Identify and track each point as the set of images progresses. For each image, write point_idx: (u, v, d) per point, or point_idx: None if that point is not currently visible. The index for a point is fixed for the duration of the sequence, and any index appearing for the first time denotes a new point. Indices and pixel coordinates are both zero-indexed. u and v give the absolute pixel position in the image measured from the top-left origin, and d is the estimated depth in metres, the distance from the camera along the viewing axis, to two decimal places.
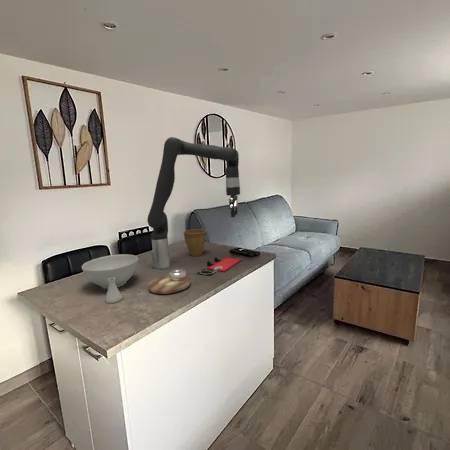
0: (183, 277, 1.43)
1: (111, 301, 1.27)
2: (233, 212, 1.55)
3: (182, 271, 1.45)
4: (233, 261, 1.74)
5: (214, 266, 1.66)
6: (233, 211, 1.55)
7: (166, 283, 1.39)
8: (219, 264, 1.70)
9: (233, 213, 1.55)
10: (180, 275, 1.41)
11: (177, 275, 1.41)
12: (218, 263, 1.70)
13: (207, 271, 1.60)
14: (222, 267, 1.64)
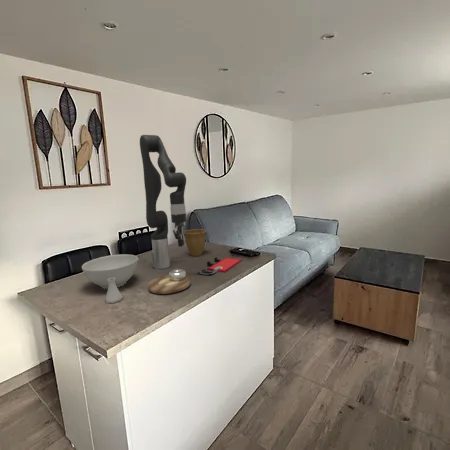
0: (183, 277, 1.43)
1: (111, 301, 1.27)
2: (180, 241, 1.49)
3: (182, 271, 1.45)
4: (233, 261, 1.74)
5: (214, 266, 1.66)
6: (180, 240, 1.49)
7: (166, 283, 1.39)
8: (219, 264, 1.70)
9: (180, 242, 1.49)
10: (180, 275, 1.41)
11: (177, 275, 1.41)
12: (218, 263, 1.70)
13: (207, 271, 1.60)
14: (222, 267, 1.63)
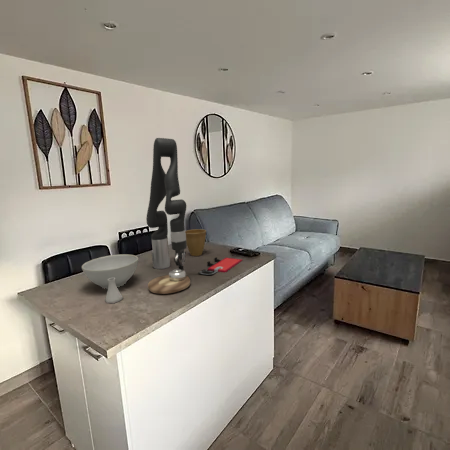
0: (183, 277, 1.43)
1: (111, 301, 1.27)
2: (181, 268, 1.49)
3: (182, 271, 1.45)
4: (233, 261, 1.74)
5: (214, 266, 1.65)
6: (181, 267, 1.48)
7: (166, 283, 1.39)
8: (219, 264, 1.70)
9: None
10: (180, 275, 1.41)
11: (177, 275, 1.41)
12: (218, 263, 1.70)
13: (208, 271, 1.59)
14: (223, 267, 1.63)
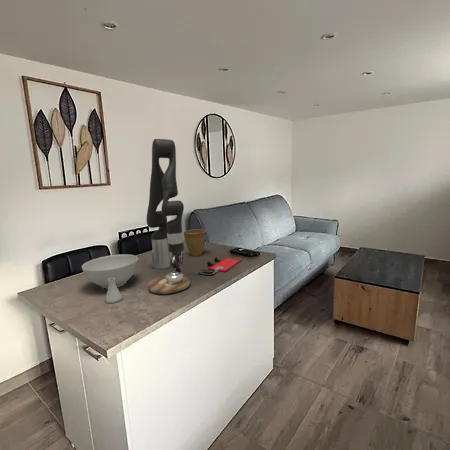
0: (181, 280, 1.39)
1: (111, 301, 1.27)
2: (178, 270, 1.45)
3: (179, 274, 1.41)
4: (233, 261, 1.74)
5: (215, 266, 1.65)
6: (178, 269, 1.45)
7: (166, 283, 1.39)
8: (219, 264, 1.69)
9: (178, 271, 1.45)
10: (178, 278, 1.38)
11: (175, 278, 1.37)
12: (219, 263, 1.70)
13: (208, 271, 1.59)
14: (223, 267, 1.63)
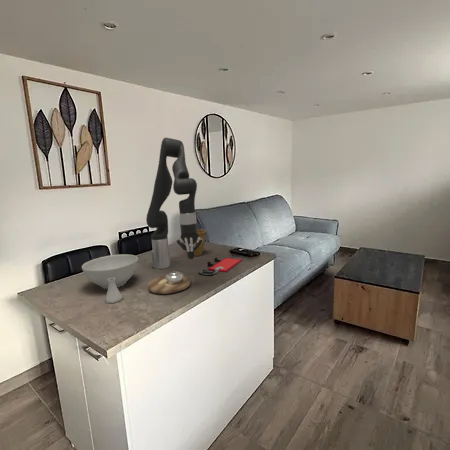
0: (181, 280, 1.39)
1: (111, 301, 1.27)
2: (188, 253, 1.37)
3: (179, 274, 1.41)
4: (233, 261, 1.74)
5: (215, 266, 1.65)
6: None
7: (166, 283, 1.39)
8: (219, 264, 1.69)
9: (188, 254, 1.37)
10: (178, 278, 1.38)
11: (175, 278, 1.37)
12: (219, 264, 1.70)
13: (208, 271, 1.59)
14: (223, 267, 1.63)
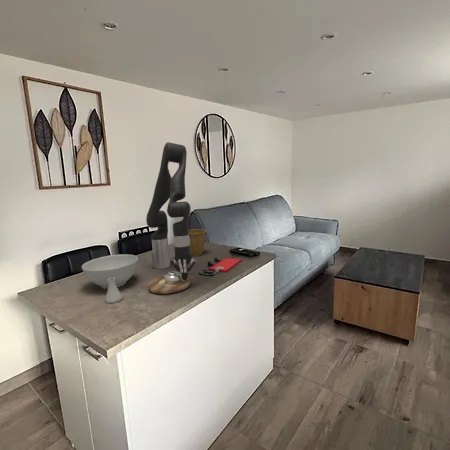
0: (179, 280, 1.39)
1: (111, 301, 1.27)
2: (181, 274, 1.40)
3: (178, 274, 1.41)
4: (233, 261, 1.73)
5: (215, 266, 1.65)
6: (181, 273, 1.40)
7: None
8: (219, 264, 1.69)
9: None
10: (176, 278, 1.38)
11: (173, 278, 1.37)
12: (219, 264, 1.70)
13: (209, 271, 1.59)
14: (223, 267, 1.63)
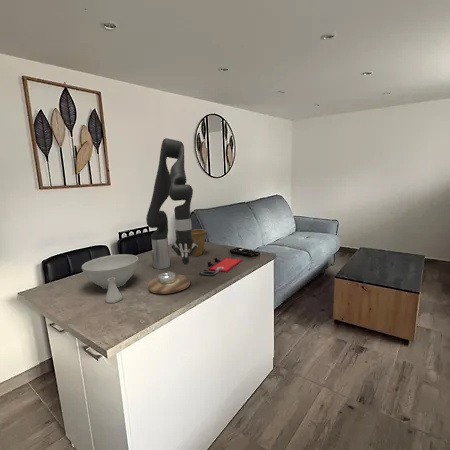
0: (173, 280, 1.40)
1: (111, 301, 1.27)
2: None
3: (172, 274, 1.42)
4: (233, 261, 1.73)
5: (215, 266, 1.65)
6: (182, 258, 1.37)
7: None
8: (220, 264, 1.69)
9: None
10: (170, 278, 1.38)
11: (167, 278, 1.38)
12: (219, 264, 1.70)
13: (209, 271, 1.59)
14: (224, 267, 1.63)
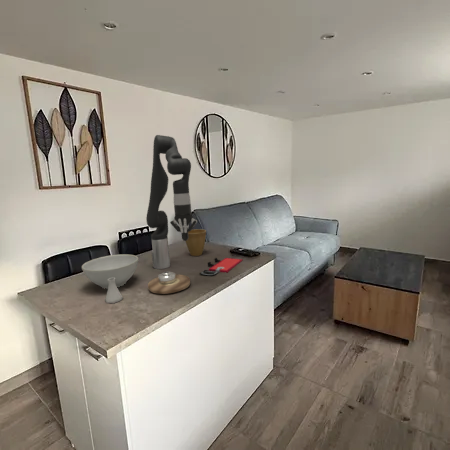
0: (173, 280, 1.40)
1: (111, 301, 1.27)
2: None
3: (172, 274, 1.42)
4: (234, 261, 1.73)
5: (215, 267, 1.65)
6: None
7: None
8: (220, 264, 1.69)
9: (182, 236, 1.36)
10: (170, 278, 1.38)
11: (167, 278, 1.38)
12: (219, 264, 1.70)
13: (209, 271, 1.59)
14: (224, 267, 1.63)
